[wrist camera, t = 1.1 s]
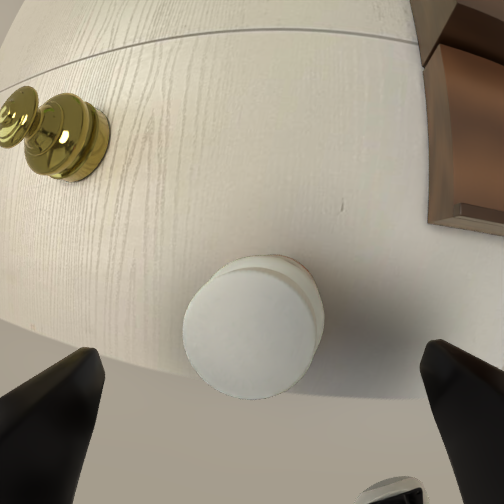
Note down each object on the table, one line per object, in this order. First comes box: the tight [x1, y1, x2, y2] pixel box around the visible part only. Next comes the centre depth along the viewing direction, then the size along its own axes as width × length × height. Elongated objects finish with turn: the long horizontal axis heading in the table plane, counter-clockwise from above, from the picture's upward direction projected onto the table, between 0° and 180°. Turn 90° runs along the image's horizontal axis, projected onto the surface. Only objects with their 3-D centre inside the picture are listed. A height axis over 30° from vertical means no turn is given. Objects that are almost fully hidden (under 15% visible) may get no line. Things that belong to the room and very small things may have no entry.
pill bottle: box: [183, 255, 324, 400], centre depth 17 cm, size 6×6×11 cm
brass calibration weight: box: [0, 86, 109, 182], centre depth 21 cm, size 7×7×10 cm
